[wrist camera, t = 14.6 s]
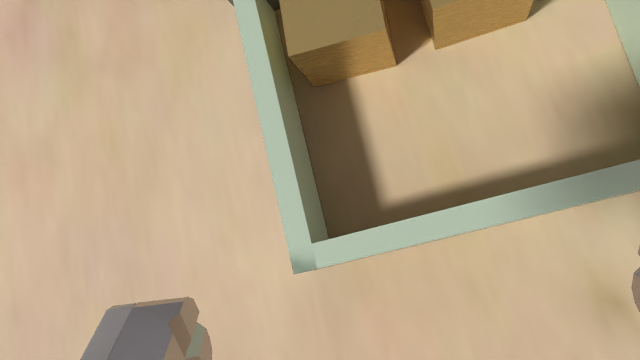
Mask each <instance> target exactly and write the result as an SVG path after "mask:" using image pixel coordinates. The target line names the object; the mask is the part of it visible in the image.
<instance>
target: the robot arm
mask: <svg viewBox="0 0 640 360" xmlns="http://www.w3.org/2000/svg"><path fill="white" fill-rule="evenodd" d="M638 254H639V255H640V247H639V251H638ZM632 292H633V297H634V301H635V304H636V306H637V308H638V310H639V312H640V267H639V268H638V269H637V270H636V271H635V272H634V275H633V282H632ZM198 315H199V310H198V308H197V306H196V303H195V301H194V299H192V298H189V297H184V298H175V299H166V300H157V301H148V302H139V303H135V304H125V305H116V306H112V307H111V308H109V309H108V310H107V311H106V312H105V314H104V316H103V318H102V320H101V321H100V323H99V325H98V327H97V329H96V331H95V333H94V335H93V337H92V338H91V340H90V342H89V344H88V346H87V348H86V350H85V352H84V353H83V355H82V357H81V359H80V360H212V347H211V342H210V337H209V335H208V332H207V329H206V328H205V327H203V326H202V325H200V324H199V323H197V318H198Z"/></svg>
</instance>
